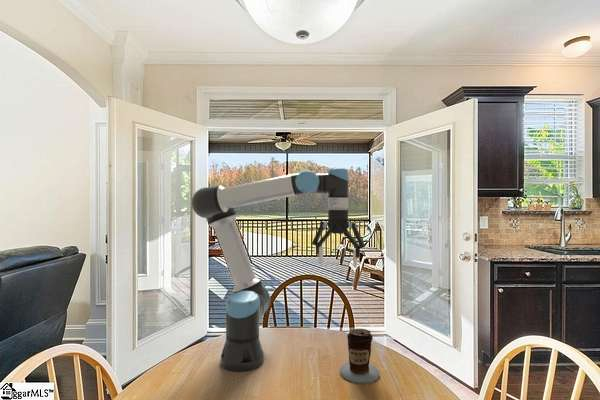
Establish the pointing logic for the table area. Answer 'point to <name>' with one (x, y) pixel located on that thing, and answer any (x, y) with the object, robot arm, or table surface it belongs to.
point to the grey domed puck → (359, 378)
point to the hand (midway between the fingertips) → (337, 265)
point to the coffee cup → (359, 350)
